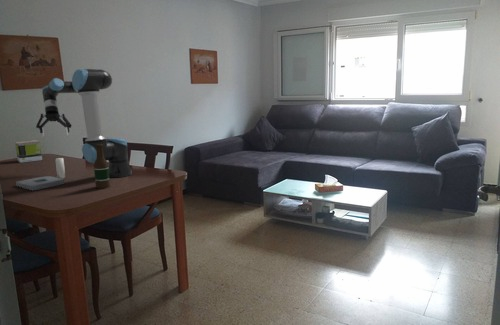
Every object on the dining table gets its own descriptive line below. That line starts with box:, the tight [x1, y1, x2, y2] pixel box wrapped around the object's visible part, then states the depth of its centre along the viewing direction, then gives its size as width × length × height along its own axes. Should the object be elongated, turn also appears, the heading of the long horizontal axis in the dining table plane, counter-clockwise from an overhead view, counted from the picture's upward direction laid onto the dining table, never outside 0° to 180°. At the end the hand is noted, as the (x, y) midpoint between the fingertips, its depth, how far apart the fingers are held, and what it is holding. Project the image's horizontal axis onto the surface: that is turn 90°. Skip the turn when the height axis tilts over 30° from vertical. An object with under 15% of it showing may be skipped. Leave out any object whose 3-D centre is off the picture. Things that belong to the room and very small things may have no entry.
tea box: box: [15, 139, 43, 163], centre depth 291 cm, size 15×10×15 cm
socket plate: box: [15, 175, 66, 191], centre depth 219 cm, size 18×18×2 cm
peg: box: [55, 157, 66, 179], centre depth 235 cm, size 4×4×12 cm
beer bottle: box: [93, 144, 111, 190], centre depth 211 cm, size 8×8×24 cm
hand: (55, 137), depth 243 cm, fingers open, 13 cm apart
